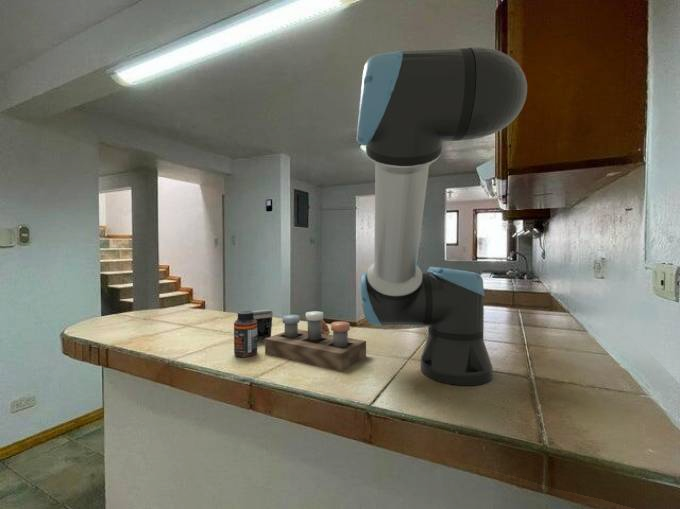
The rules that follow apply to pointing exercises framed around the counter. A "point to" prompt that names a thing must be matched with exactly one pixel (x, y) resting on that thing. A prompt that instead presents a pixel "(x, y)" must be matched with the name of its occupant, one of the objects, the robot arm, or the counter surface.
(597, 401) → the counter surface
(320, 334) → the key white
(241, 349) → the supplement bottle
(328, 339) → the wooden peg holder
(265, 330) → the electrical switch
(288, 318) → the grey cylindrical piece
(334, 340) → the key red
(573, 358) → the counter surface
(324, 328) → the fruit slice
